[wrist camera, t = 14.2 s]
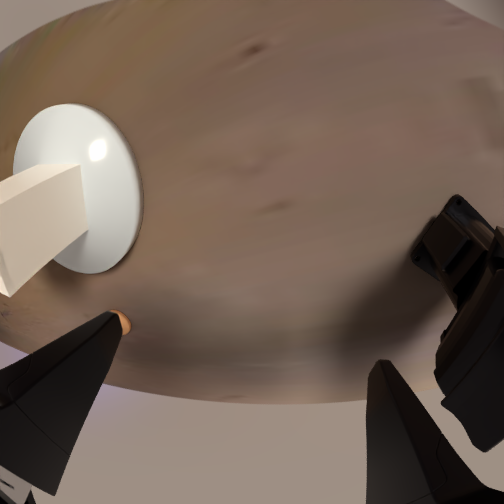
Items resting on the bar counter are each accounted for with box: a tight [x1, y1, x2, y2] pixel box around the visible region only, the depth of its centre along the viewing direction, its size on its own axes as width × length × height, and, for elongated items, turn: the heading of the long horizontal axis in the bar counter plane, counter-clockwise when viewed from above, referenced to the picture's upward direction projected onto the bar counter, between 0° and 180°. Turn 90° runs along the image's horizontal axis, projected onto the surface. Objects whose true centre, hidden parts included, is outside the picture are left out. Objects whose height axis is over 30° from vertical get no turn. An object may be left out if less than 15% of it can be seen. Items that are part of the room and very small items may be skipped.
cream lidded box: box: [0, 164, 88, 297], centre depth 16 cm, size 6×6×10 cm
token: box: [110, 310, 131, 335], centre depth 29 cm, size 3×3×1 cm
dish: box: [13, 103, 144, 274], centre depth 21 cm, size 16×16×2 cm
